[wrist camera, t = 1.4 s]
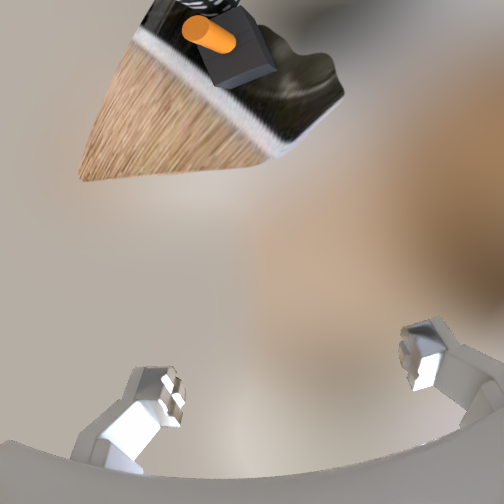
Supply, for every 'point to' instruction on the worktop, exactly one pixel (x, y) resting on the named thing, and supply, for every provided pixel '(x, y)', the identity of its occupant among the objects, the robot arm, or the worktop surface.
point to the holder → (238, 52)
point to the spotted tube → (210, 6)
